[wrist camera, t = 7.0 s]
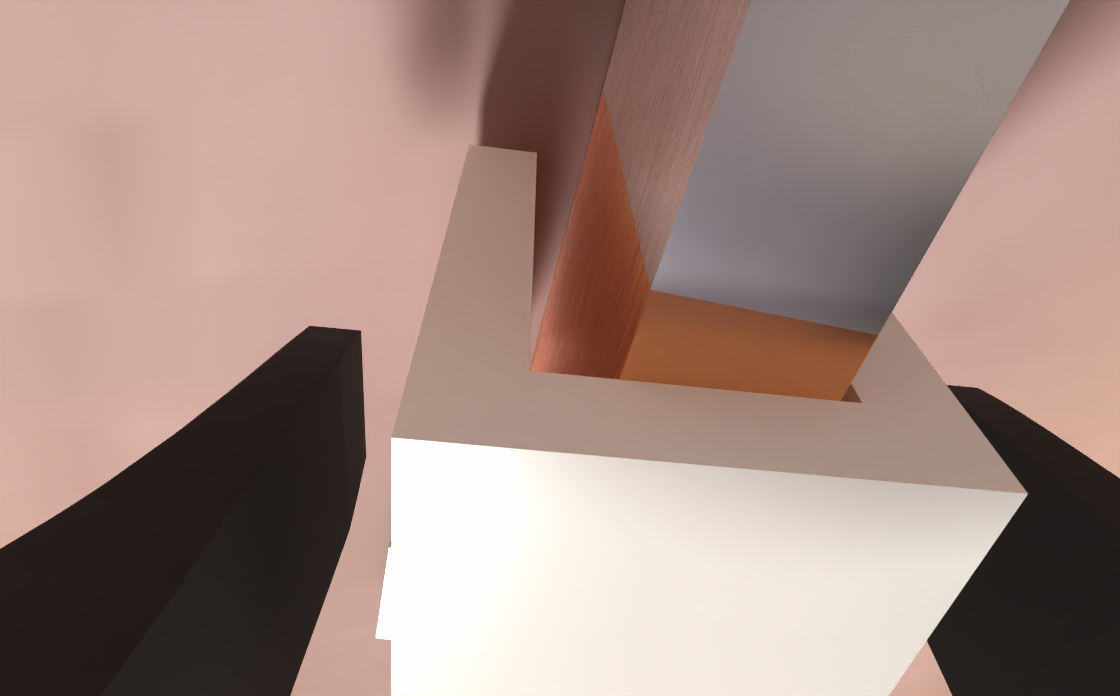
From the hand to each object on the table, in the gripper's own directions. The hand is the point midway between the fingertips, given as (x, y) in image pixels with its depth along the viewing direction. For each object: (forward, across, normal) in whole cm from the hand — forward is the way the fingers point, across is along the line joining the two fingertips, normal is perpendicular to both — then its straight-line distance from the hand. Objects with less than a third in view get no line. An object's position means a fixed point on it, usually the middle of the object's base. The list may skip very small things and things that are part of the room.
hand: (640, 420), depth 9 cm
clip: (+3, 0, 0) cm, 3 cm away
